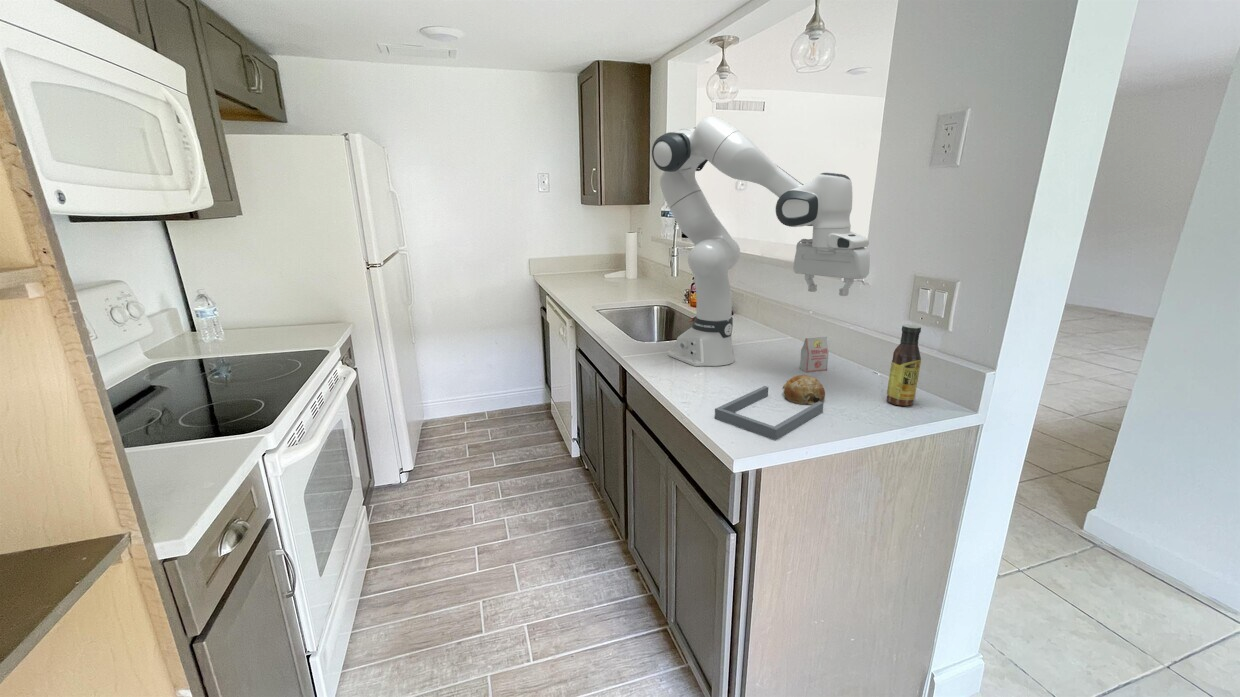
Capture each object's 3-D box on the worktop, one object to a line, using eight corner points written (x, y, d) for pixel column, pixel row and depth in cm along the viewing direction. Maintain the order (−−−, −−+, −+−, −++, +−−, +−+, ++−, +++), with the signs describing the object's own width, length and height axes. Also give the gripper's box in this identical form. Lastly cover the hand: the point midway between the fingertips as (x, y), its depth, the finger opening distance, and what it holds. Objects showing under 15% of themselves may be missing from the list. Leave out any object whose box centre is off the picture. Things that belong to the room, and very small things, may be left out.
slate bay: (714, 418, 122) (715, 408, 122) (764, 394, 136) (764, 385, 135) (775, 440, 111) (776, 429, 110) (822, 412, 124) (823, 402, 123)
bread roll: (794, 418, 129) (806, 397, 124) (771, 391, 136) (782, 369, 131) (824, 411, 133) (837, 390, 128) (800, 384, 140) (811, 363, 135)
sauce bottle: (902, 409, 124) (913, 330, 119) (880, 400, 130) (889, 325, 124) (920, 404, 127) (932, 327, 121) (897, 395, 132) (907, 321, 127)
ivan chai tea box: (799, 368, 155) (802, 336, 153) (820, 366, 157) (823, 335, 154) (806, 372, 152) (808, 340, 149) (826, 370, 153) (829, 338, 150)
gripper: (789, 239, 136) (787, 290, 140) (859, 241, 119) (855, 299, 123) (804, 237, 139) (802, 287, 143) (875, 239, 122) (870, 296, 126)
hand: (827, 293), depth 133 cm, fingers open, 8 cm apart
